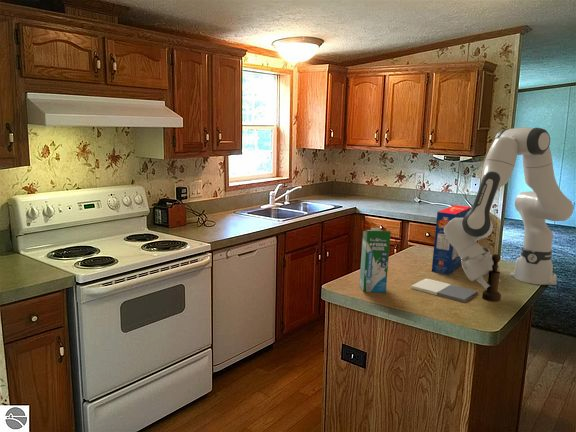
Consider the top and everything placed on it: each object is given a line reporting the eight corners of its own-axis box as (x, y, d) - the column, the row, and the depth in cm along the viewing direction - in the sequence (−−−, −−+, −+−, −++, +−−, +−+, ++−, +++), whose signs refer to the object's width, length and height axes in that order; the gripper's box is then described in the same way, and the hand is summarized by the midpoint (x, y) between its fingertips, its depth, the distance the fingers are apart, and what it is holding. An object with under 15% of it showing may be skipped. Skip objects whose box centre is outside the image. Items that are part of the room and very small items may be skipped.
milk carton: (381, 285, 197) (385, 226, 193) (385, 292, 188) (390, 231, 184) (359, 284, 197) (363, 225, 192) (363, 292, 188) (367, 230, 183)
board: (425, 280, 205) (426, 278, 205) (477, 293, 191) (477, 291, 191) (410, 288, 195) (411, 285, 194) (464, 302, 181) (464, 299, 180)
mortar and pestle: (495, 296, 189) (501, 252, 186) (503, 302, 183) (509, 256, 179) (479, 295, 189) (484, 251, 186) (486, 301, 182) (492, 256, 179)
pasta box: (449, 259, 242) (454, 205, 237) (465, 262, 238) (471, 207, 233) (431, 271, 220) (437, 211, 214) (449, 275, 215) (455, 214, 210)
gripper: (465, 254, 181) (487, 286, 176) (489, 247, 194) (511, 276, 189) (453, 263, 185) (474, 294, 180) (478, 255, 198) (498, 284, 193)
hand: (493, 285), depth 184 cm, fingers open, 8 cm apart
